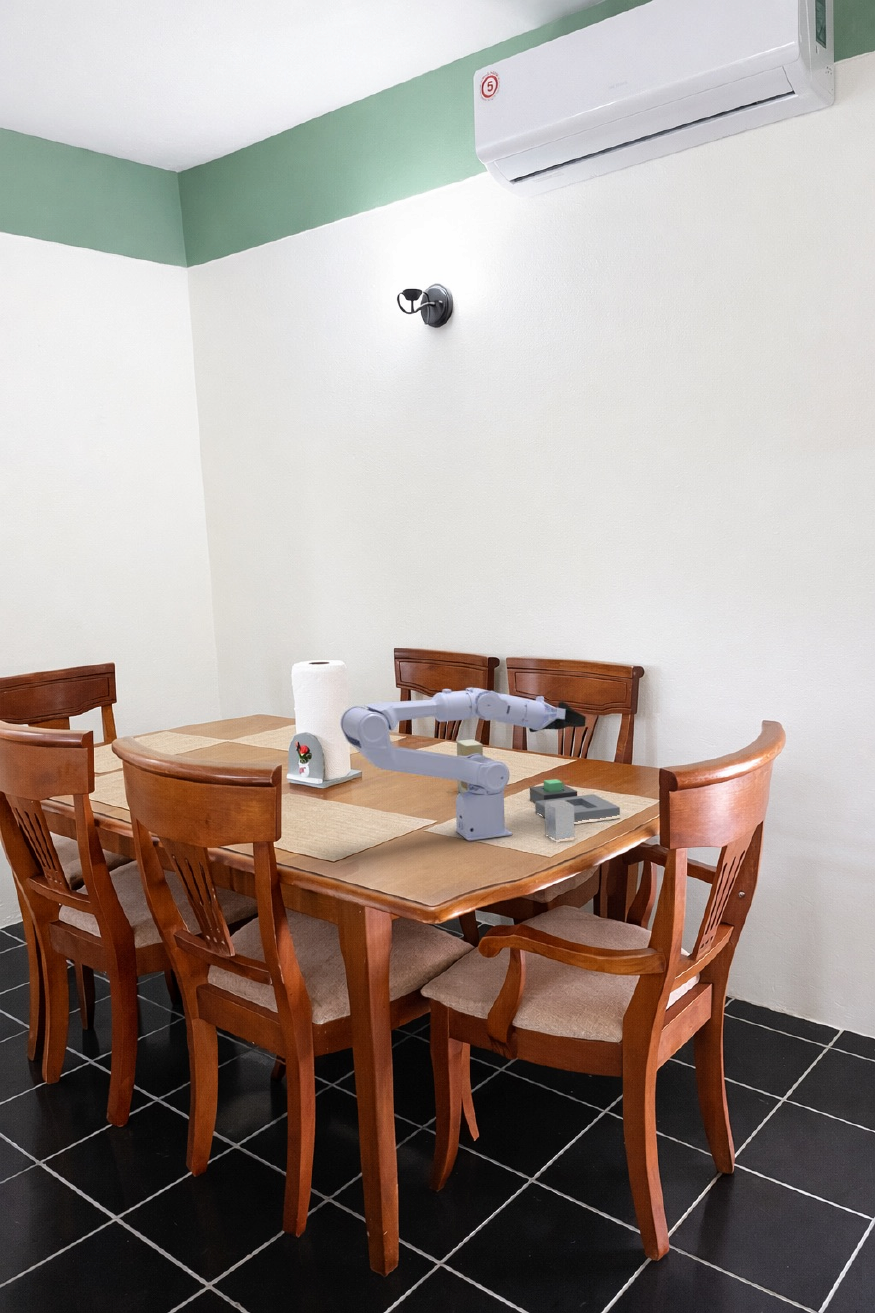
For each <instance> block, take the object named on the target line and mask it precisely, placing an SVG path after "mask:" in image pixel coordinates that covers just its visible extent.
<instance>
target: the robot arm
mask: <svg viewBox="0 0 875 1313" xmlns="http://www.w3.org/2000/svg"><path fill="white" fill-rule="evenodd" d="M363 706H364V707H363ZM363 706H360V705H353V706H351V707H348V708H347V709H346V710H345V711H344V712H343V713H342V715H341V718H340V728H341V731H342V733H343V736H344V737H345V740H346V741H347V743H349V744H350V745H351V746H352V747H353V748H354V749H355V750H357V751H358V752H359V753H360V754H361V756H363V757H364V758H365V759H366V761H368V763H370V764H371V765H372V766H373V767H376V768H377V769H381V770H385V771H391V772H398V773H404V774H411V775H412V774H413V775H420V776H426V777H432V778H433V777H434V778H438V779H439V778H440V779H445V780H446V779H447V780H454V781H458V780H459V781H463V782H466V783H468V791H466V792H464V793H461V792H459V793H457V795H456V798H455V820H456V822H455V823H456V828H455V832H457V833H459V835H460V836H462V837H463V838H464V839H466V840H467V841H470V842H471V841H475V840H476V841H477V840H485V839H491V838H501V837H507V836H512V835H513V832H512V831H510V830H509V829H508V828H506V827H505V821H506V820H505V795H504V794H505V788H506V787H507V786H508V784H509V780H510V778H511V777H510V769H509V767H508V766H507V765H506V764H505V763H504V762H503V761H500V760H495V759H492V758H489V757H487V756H485V755H484V754H483V755H481V754H478V753H475V754H472V755H469V756H457V755H451V754H445V753H439V752H432V751H427V750H420V749H414V748H407V747H401V746H394V745H393V742H392V740H391V736H390V735H391V734H390V731H394V730H395V728H396V727H397V725H398V723H399V722H400V721H401V722H402V721H407V720H408V721H409V720H415V719H422V718H423V719H424V718H429V717H432V718H434V719H435V720H436V721H438V722H439V723H441V722H442V723H443V722H450V721H451V722H453V721H455V722H456V721H464V720H470V719H473V718H478V719H480V720H481V719H482V720H484V721H492V720H494V721H496V722H498V723H504V724H508V725H514V726H518V727H523V728H528V729H529V732H530V733H536V732H539V731H542V730H543V731H544V730H556V731H557V730H558V731H559V730H563V729H566V728H582V727H585V726H586V722H587V721H586V719H587V717H586V716H585V715H584V714H582V713H579V712H578V711H576V710H574V709H573V708H572V707H570V705H569V704H568V703H567V702H565V701H559V702H558V704H557V707H555V706H553V705H551V704H549V703H548V702H545V697H544V696H542V695H538V696H536V698H535V699H534V700H533V699H530V698H524V697H520V696H515V695H510V694H508V693H507V694H506V693H499V692H496V691H494V690H487V689H483V688H478V687H472V686H471V687H466V688H465V690H458V691H452V689H449V688H444V689H442V690H441V692H437V693H435V694H434V695H433V696H432V697H431V699H425V700H424V699H423V700H404V701H403V700H402V701H400V700H399V701H382V702H372V703H366V704H363ZM366 708H367V709H366Z"/></svg>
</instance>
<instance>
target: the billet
mask: <svg viewBox="0 0 875 1313" xmlns="http://www.w3.org/2000/svg"><path fill="white" fill-rule="evenodd" d="M544 824H545V825H544V829H545V830H544V831H545V832H544V834H546V835H548V836H549V837H552V838H554V839H555V840H559V839H565V838H570V837H575V838H576V836H575V835H576V834H575V825H574V805H572V804H570V803H569V802H567V801H565V800H555V801H547V802H545V818H544Z"/></svg>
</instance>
